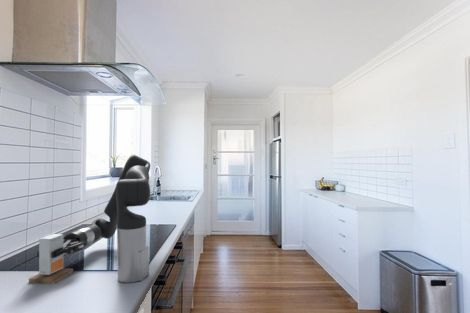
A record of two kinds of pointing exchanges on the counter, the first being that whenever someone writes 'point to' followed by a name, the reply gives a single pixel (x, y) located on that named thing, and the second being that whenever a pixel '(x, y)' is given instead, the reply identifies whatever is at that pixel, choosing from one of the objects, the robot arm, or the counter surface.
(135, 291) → the counter surface
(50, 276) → the plate
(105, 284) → the counter surface
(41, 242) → the skincare box
